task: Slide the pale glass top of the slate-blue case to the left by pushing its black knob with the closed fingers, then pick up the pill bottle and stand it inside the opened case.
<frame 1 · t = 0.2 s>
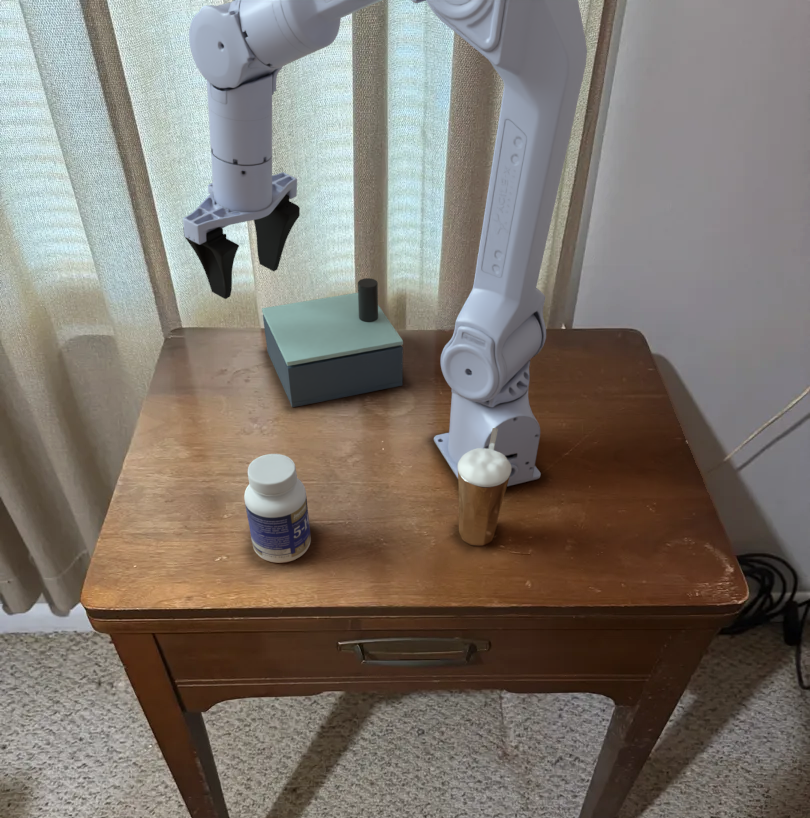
hand: (245, 280, 82), 10 cm above the table, tool pointing down, fingers open, 7 cm apart
sliding lid: (329, 308, 83), point 8 cm above the table, slide at 0.0 cm
pill bottle: (282, 544, 69), on the table
case: (333, 368, 89), on the table
milkshake: (477, 532, 70), on the table
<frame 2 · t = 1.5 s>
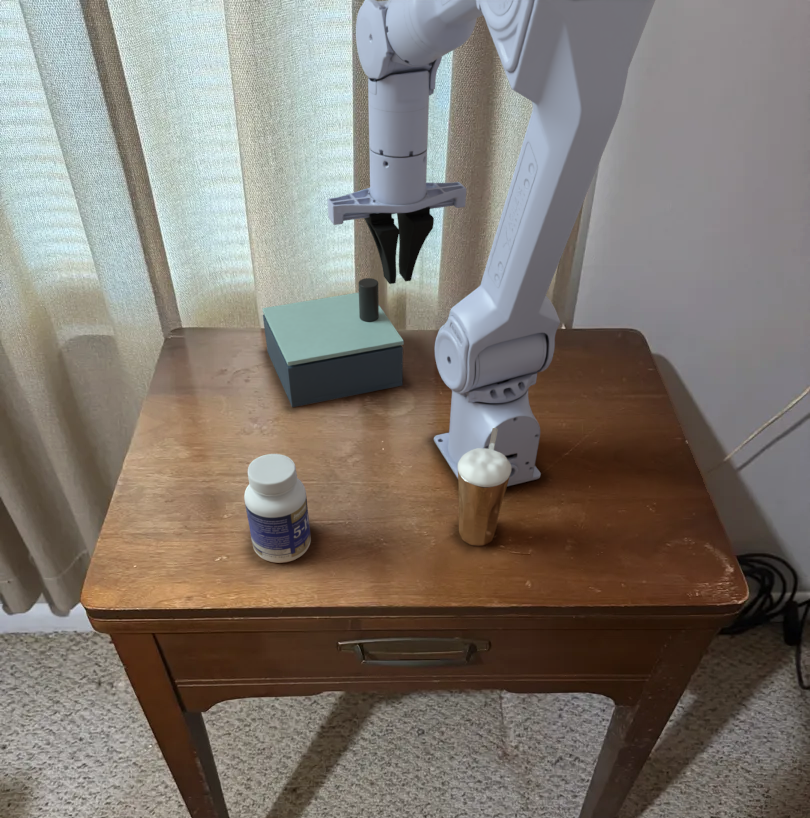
hand: (397, 278, 84), 10 cm above the table, tool pointing down, fingers closed
nothing on the table moved.
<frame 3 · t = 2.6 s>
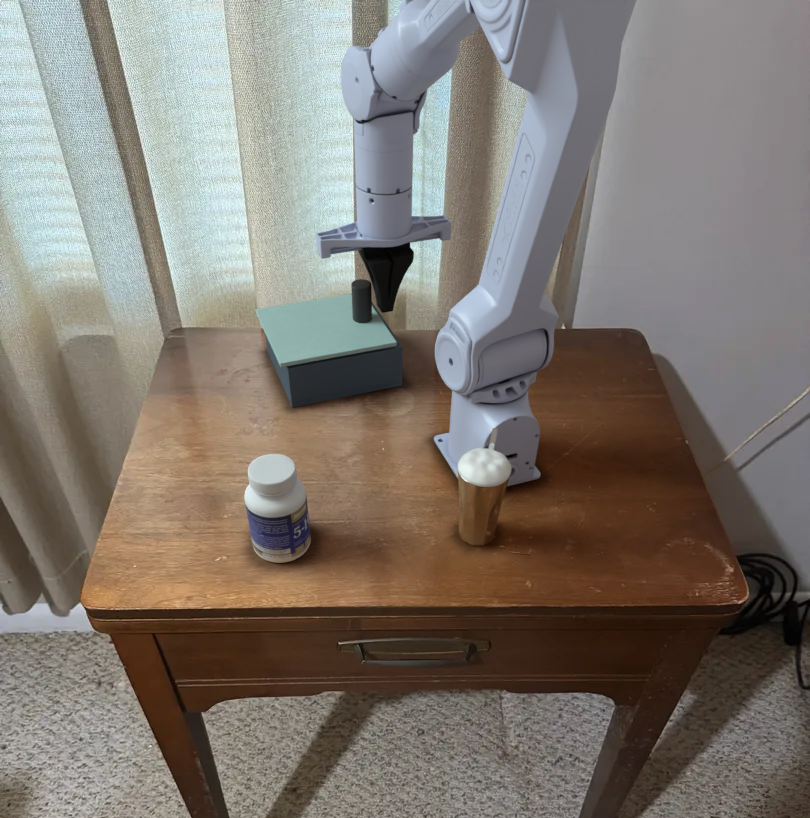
hand: (384, 307, 86), 7 cm above the table, tool pointing down, fingers closed
sliding lid: (323, 310, 83), point 8 cm above the table, slide at 0.7 cm, touching gripper
everything else where it was.
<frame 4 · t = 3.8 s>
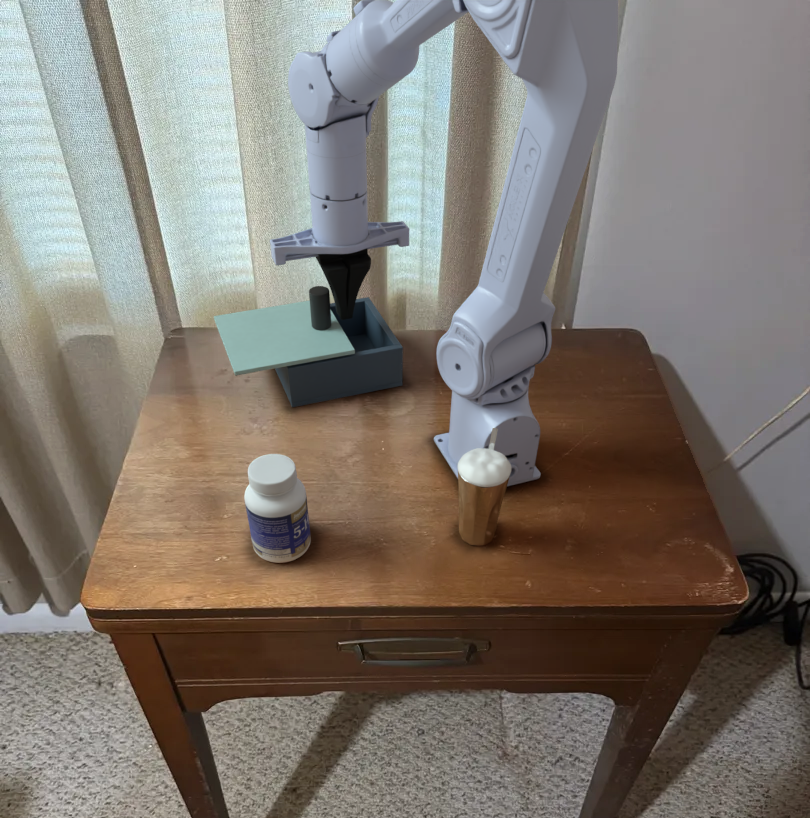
hand: (344, 314, 85), 7 cm above the table, tool pointing down, fingers closed
sliding lid: (280, 317, 82), point 8 cm above the table, slide at 5.5 cm, touching gripper
everything else where it was.
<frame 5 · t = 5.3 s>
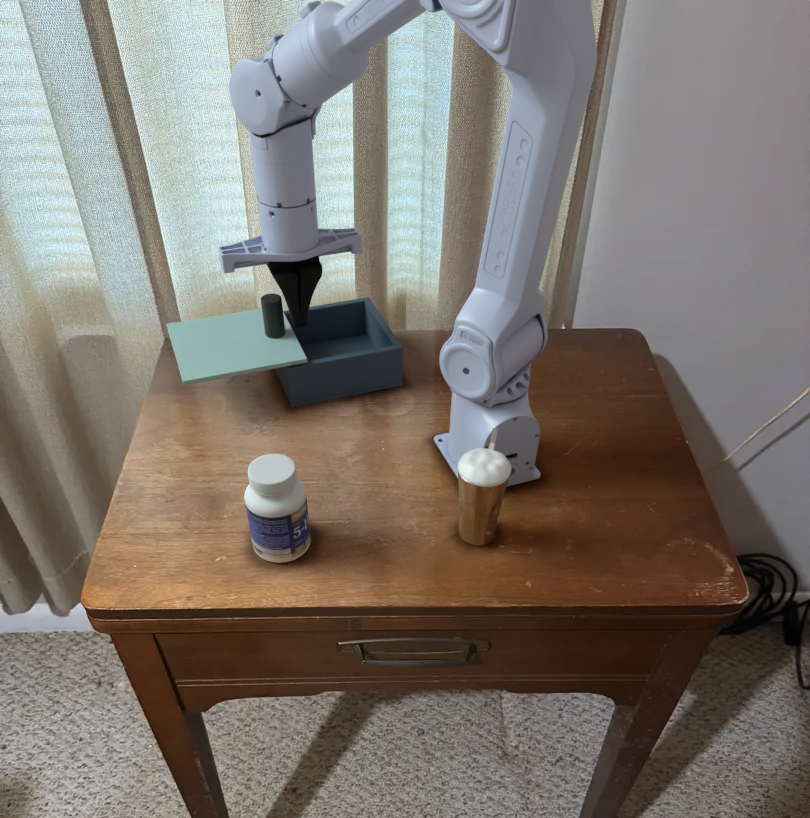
hand: (298, 322, 83), 7 cm above the table, tool pointing down, fingers closed
sliding lid: (232, 325, 81), point 8 cm above the table, slide at 10.8 cm, touching gripper
everything else where it was.
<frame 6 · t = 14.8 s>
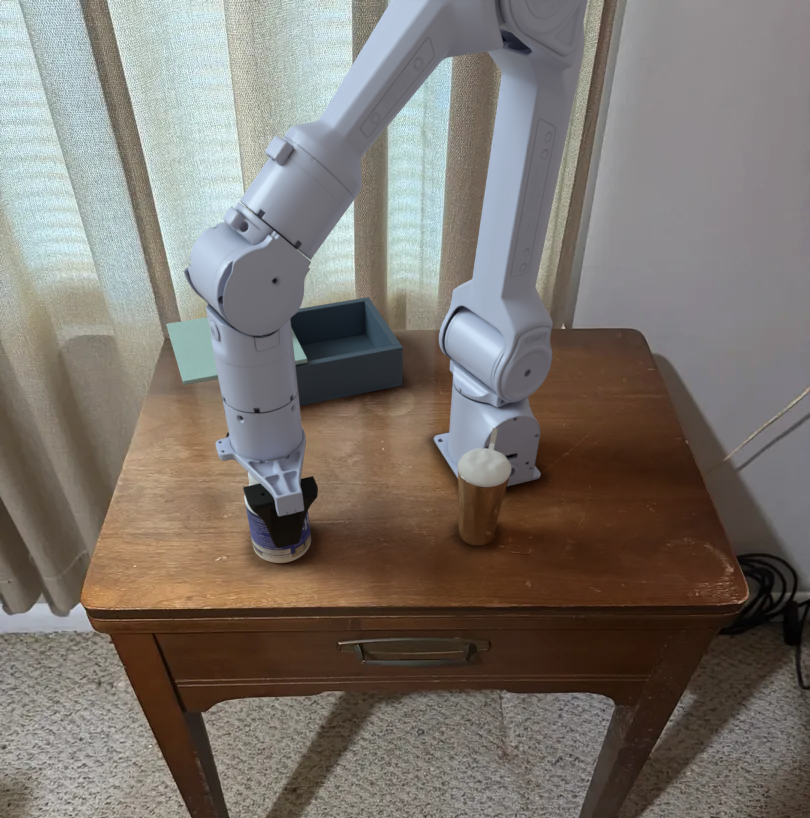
hand: (279, 520, 67), 3 cm above the table, tool pointing down, fingers closed on pill bottle, 5 cm apart
sliding lid: (232, 325, 81), point 8 cm above the table, slide at 10.8 cm
pill bottle: (282, 544, 69), on the table, touching gripper
everything else where it was.
when the fingers open (3 cm above the table, at t = 20.8 s): pill bottle stays where it is, resting on case.
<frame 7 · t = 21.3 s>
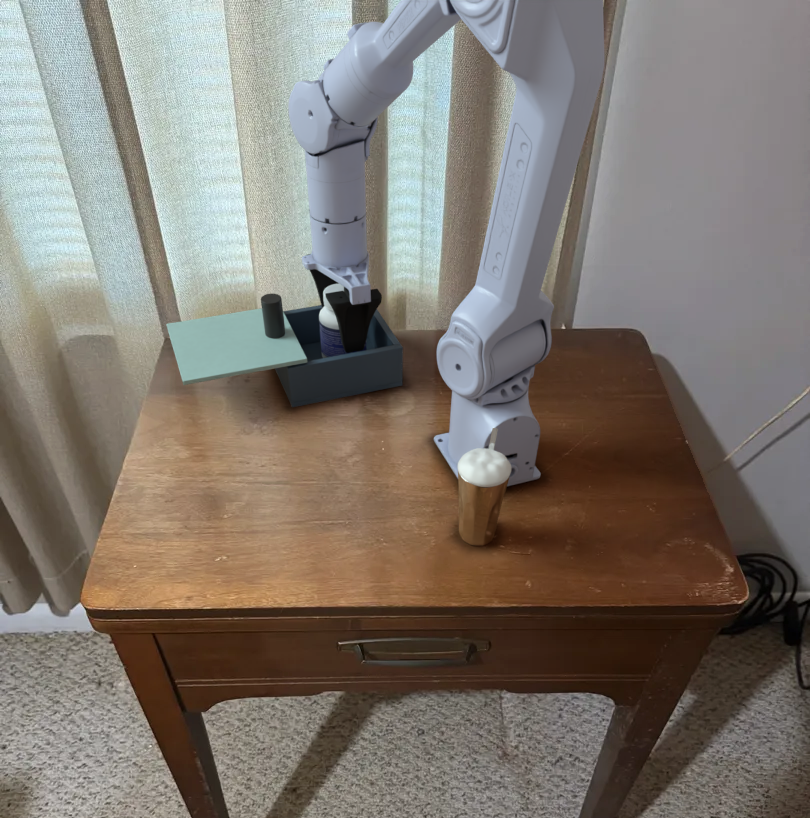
hand: (343, 332, 86), 4 cm above the table, tool pointing down, fingers open, 7 cm apart
pill bottle: (344, 363, 89), resting on case
everything else where it was.
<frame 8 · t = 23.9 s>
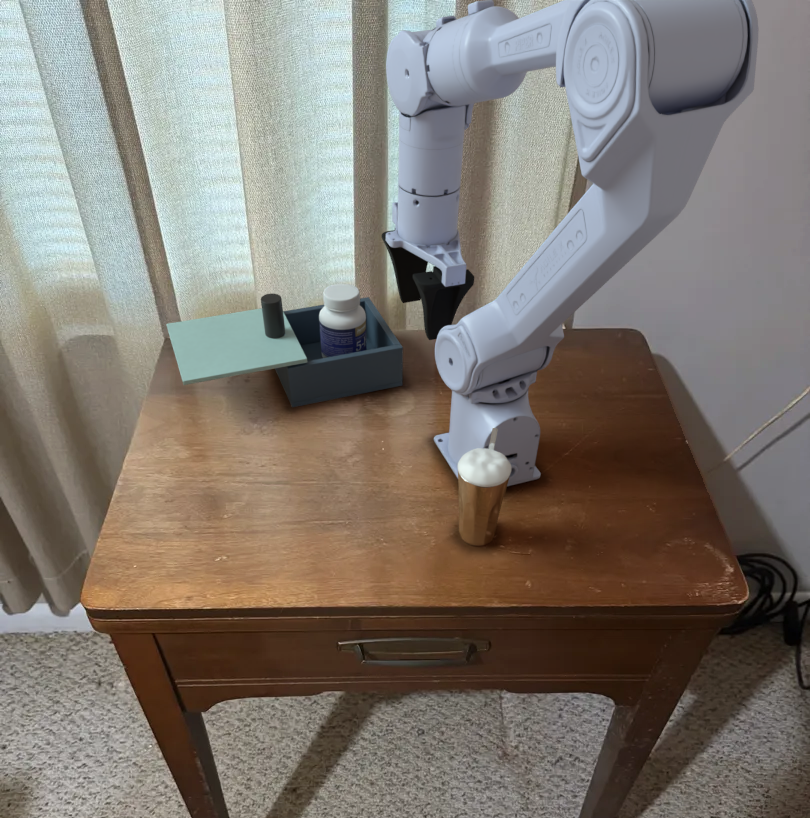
hand: (423, 318, 79), 9 cm above the table, tool pointing down, fingers open, 7 cm apart
nothing on the table moved.
at the end: sliding lid slide at 10.8 cm; pill bottle inside the target area on the case (1.4 cm from its centre), point 0.4 cm above the case's base; pill bottle tilted 0° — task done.
